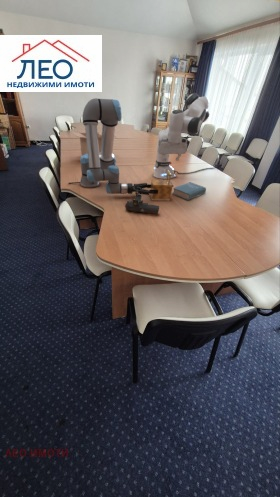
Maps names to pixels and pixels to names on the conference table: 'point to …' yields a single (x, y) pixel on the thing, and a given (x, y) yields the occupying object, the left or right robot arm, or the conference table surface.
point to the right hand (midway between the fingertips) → (170, 160)
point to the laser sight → (141, 206)
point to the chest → (161, 193)
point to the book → (189, 190)
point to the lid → (163, 182)
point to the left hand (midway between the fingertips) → (156, 189)
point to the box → (84, 143)
